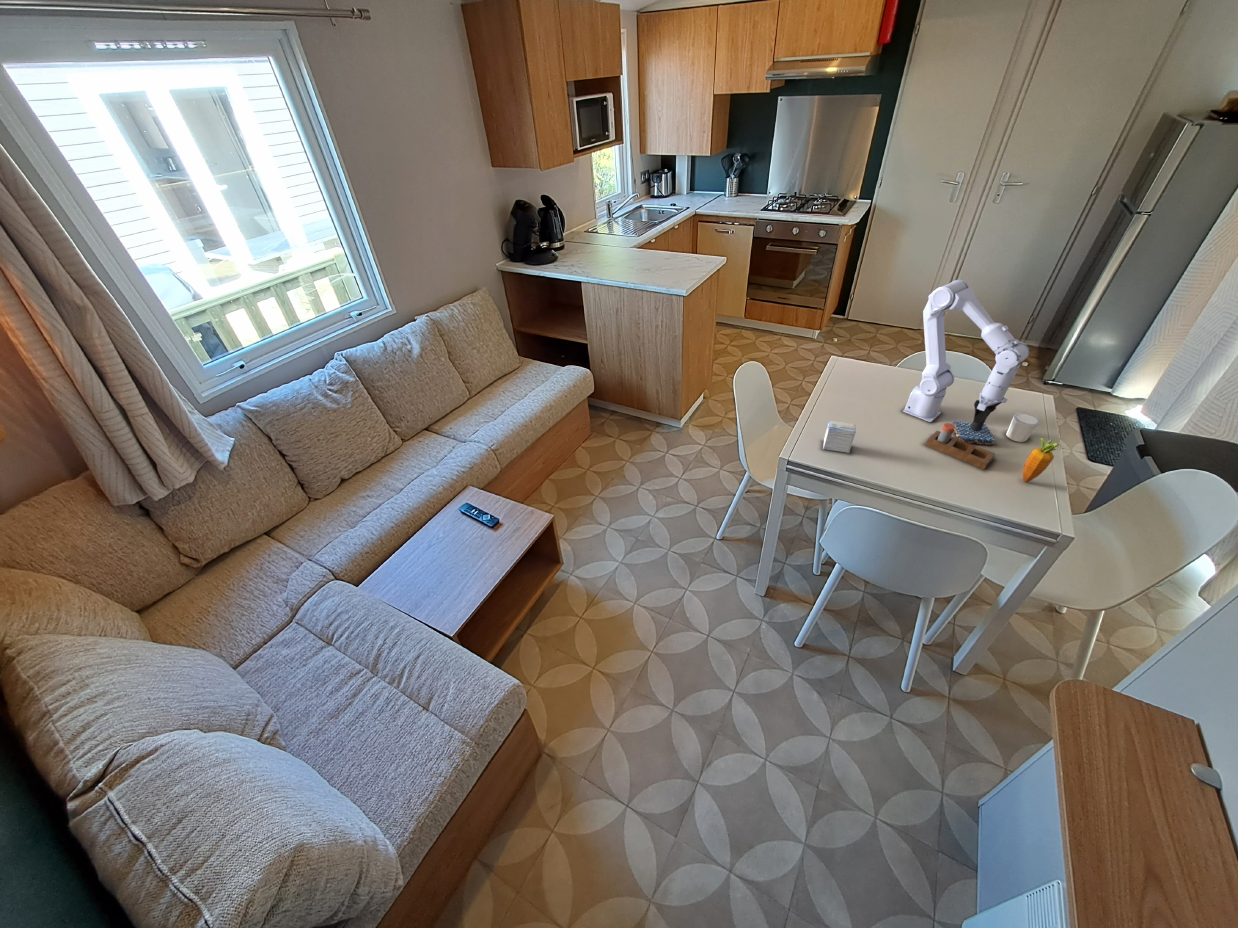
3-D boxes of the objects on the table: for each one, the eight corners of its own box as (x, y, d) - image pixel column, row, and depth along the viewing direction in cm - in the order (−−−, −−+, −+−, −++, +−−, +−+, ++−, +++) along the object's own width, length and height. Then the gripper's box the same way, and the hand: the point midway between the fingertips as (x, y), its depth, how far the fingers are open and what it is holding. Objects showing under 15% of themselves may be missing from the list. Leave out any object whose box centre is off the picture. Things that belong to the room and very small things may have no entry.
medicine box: (848, 445, 159) (855, 423, 153) (849, 453, 156) (856, 431, 150) (823, 441, 161) (829, 419, 156) (822, 449, 158) (828, 427, 152)
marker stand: (925, 445, 157) (927, 439, 155) (934, 436, 160) (937, 430, 159) (983, 469, 147) (987, 463, 145) (992, 459, 150) (995, 453, 148)
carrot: (1010, 477, 144) (1035, 436, 134) (1027, 475, 144) (1053, 434, 134) (1022, 488, 140) (1049, 447, 130) (1039, 486, 140) (1067, 445, 131)
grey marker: (933, 445, 157) (941, 426, 152) (937, 440, 158) (946, 421, 154) (943, 449, 155) (952, 430, 150) (947, 445, 156) (957, 426, 152)
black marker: (967, 428, 158) (977, 409, 153) (971, 424, 160) (981, 405, 155) (978, 432, 156) (988, 413, 151) (982, 428, 158) (992, 408, 153)
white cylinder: (1033, 443, 155) (1044, 425, 150) (1008, 442, 156) (1019, 424, 152) (1024, 431, 160) (1034, 413, 155) (1000, 429, 161) (1010, 411, 157)
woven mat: (984, 427, 162) (986, 422, 161) (995, 446, 155) (998, 441, 153) (949, 424, 165) (951, 419, 163) (958, 443, 157) (960, 438, 155)
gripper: (1004, 397, 141) (984, 435, 150) (1022, 378, 148) (1002, 415, 157) (977, 388, 145) (959, 425, 154) (996, 370, 152) (978, 407, 161)
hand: (979, 420), depth 156 cm, fingers closed on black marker, 3 cm apart
